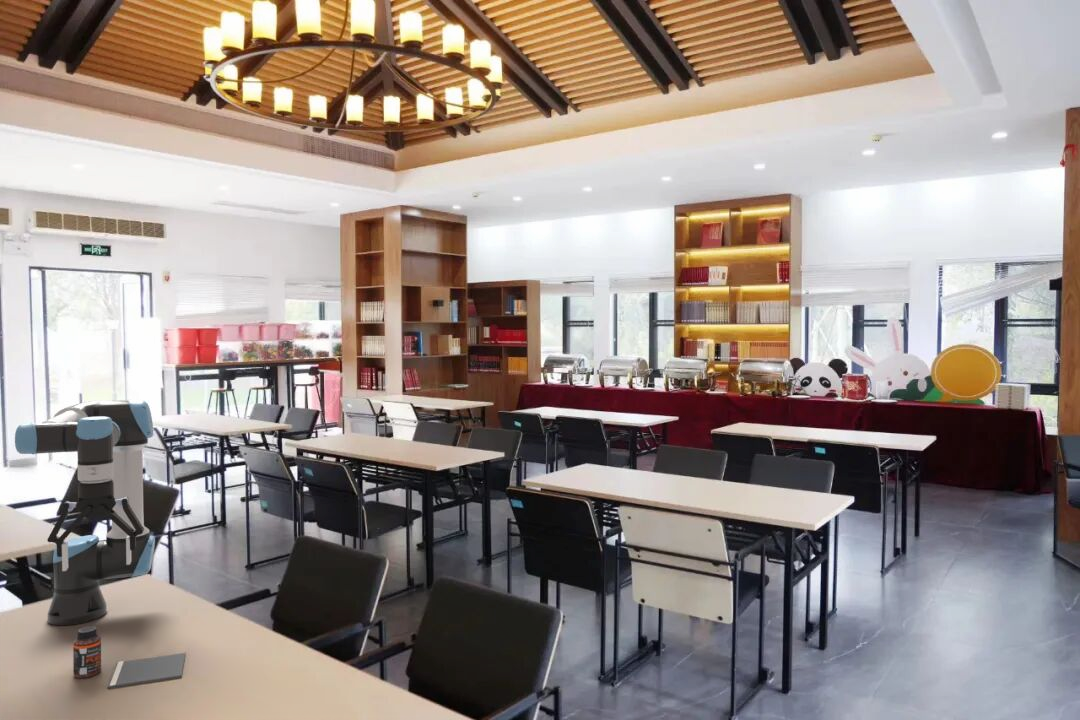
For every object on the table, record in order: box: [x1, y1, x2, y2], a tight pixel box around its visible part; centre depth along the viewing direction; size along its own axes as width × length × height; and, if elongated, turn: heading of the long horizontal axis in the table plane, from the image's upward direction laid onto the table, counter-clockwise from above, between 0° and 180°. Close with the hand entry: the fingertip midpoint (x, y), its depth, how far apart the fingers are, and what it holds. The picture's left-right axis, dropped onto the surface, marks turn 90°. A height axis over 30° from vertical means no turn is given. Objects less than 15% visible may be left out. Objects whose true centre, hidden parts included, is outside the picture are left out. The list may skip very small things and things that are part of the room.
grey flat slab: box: [107, 652, 186, 690], centre depth 188 cm, size 14×16×1 cm
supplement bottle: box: [72, 625, 102, 679], centre depth 187 cm, size 6×6×11 cm
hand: (97, 566), depth 183 cm, fingers open, 13 cm apart
